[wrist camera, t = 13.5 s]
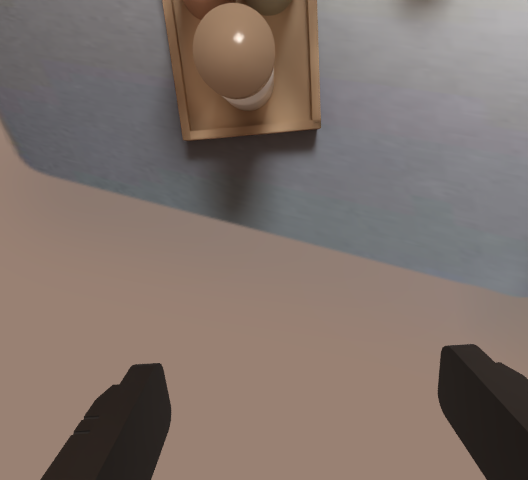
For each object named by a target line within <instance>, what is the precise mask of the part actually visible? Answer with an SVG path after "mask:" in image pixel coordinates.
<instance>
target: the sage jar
mask: <svg viewBox="0 0 528 480" xmlns="http://www.w3.org/2000/svg"><path fill="white" fill-rule="evenodd" d="M291 1H292V0H245V2H246V3H247V5H248V6H249V7H251V8H253V9H254V10H256V11H257V12H258V13H259V14H261V15H265V16H272V15H276V14H278V13H280V12H282V11H283V10H285V9H286V8H287V7H288V6H289V4H290V3H291Z"/></svg>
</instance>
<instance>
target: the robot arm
mask: <svg viewBox="0 0 528 480" xmlns="http://www.w3.org/2000/svg"><path fill="white" fill-rule="evenodd" d="M438 398H439V403H440V406H441V409H442V411H443V413H444V415H445V417H446V418H447V420H448V421H449V423H450V424H451V426H452V428H453V429H454V430H455V432H456V434H457V435H458V437H459V438H460V440H461V441H462V443H463V444H464V446H465V447H466V449H467V450H468V452H469V453H470V455H471V456H472V458H473V459H474V461H475V462H476V464H477V465H478V467H479V468H480V470H481V472H482V473H483V474H484V476H485V477H486V479H487V480H528V379H527V378H526V377H525V376H523V375H522V374H520V373H518V372H516V371H515V370H513V369H511V368H509V367H508V366H505V365H504V364H502V363H499V362H498V363H495V362H494V361H493V360H492V359H491V358H490V357H489V356H487V354H485V353H484V352H483V351H482V350H481V349H480V348H479V347H478V346H476V345H474V344H469V345H468V344H467V345H451V346H444V347H443V348H442V351H441V359H440V370H439V383H438ZM170 421H171V404H170V400H169V394H168V390H167V385H166V380H165V375H164V370H163V367H162V365H161V364H160V363H153V364H138V365H137V364H136V365H132V366H131V367H130V369H129V370H128V372H127V374H126V375H125V377H124V378H123V380H122V381H121V383H120V384H119V385H112V386H111V387H110V388H109V389H107V390H106V391H105V392H104V393H103V394H102V395H100V396H99V397H98V398H97V399H96V400H95V401H94V403H93V404H92V406H91V407H90V409H89V410H88V412H87V413H86V414H85V416H84V420H81V422H80V423H79V425H78V426H77V427H76V429H75V430H74V434H73V435H71V436H70V438H69V439H68V441H67V442H66V443H65V445H64V447H63V448H62V449H61V451H60V452H59V454H58V455H57V457H56V458H55V460H54V461H53V462H52V464H51V465H50V467H49V468H48V469H47V471H46V472H45V474H44V475H43V477H42V478H41V480H151V478H152V475H153V473H154V470H155V467H156V464H157V461H158V459H159V456H160V453H161V450H162V447H163V445H164V442H165V439H166V436H167V433H168V430H169V427H170Z"/></svg>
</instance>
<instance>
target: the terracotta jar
mask: <svg viewBox="0 0 528 480" xmlns="http://www.w3.org/2000/svg"><path fill="white" fill-rule="evenodd" d="M182 1H183V2H184V4H185V6H186V8H187V9H188V10H189V12H190V13H191V14H192V15H193V16H195V17H196V18H198V19H200V20H202V19H203V17H204V16H205V15H206V14H207V13H208V12H209V11H211V10H212V9H213V8H215V7H217V6H219V5H222V4H226V3H235V0H182Z"/></svg>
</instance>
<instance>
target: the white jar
mask: <svg viewBox="0 0 528 480" xmlns="http://www.w3.org/2000/svg"><path fill="white" fill-rule="evenodd" d="M193 57H194V62H195V65H196V68H197V71H198V73H199V74H200V76H201V78H202V79H203V80H204V82H205V83H206V84H207V85H208V86H209V87H210V88H211V89H213V90H214V91H215V92H216V93H218V94H220V95H221V96H222V97H224V98H225V99H226V100H227V101H228V102H229V103H230V104H231V105H232V106H234V107H235V108H237V109H239V110H242V111H254V110H257V109H259V108H261V107H262V106H264V105H265V104H266V103H267V102H268V100H269V99H270V97H271V95H272V92H273V88H274V63H275V44H274V38H273V35H272V32H271V29H270V27H269V25H268V24H267V22H266V21H265V19H264V18H263V17H262V16H261V15H260V14H259V13H258V12H257V11H256V10H254V9H253V8H251V7H249V6H247V5H244V4H240V3H226V4H222V5H219V6H217V7H215V8H213V9H212V10H211V11H209V12H208V13H207V14H206V15H205V16H204V17H203V19H202V20H201V22H200V23H199V25H198V27H197V29H196V32H195V35H194V40H193Z"/></svg>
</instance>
